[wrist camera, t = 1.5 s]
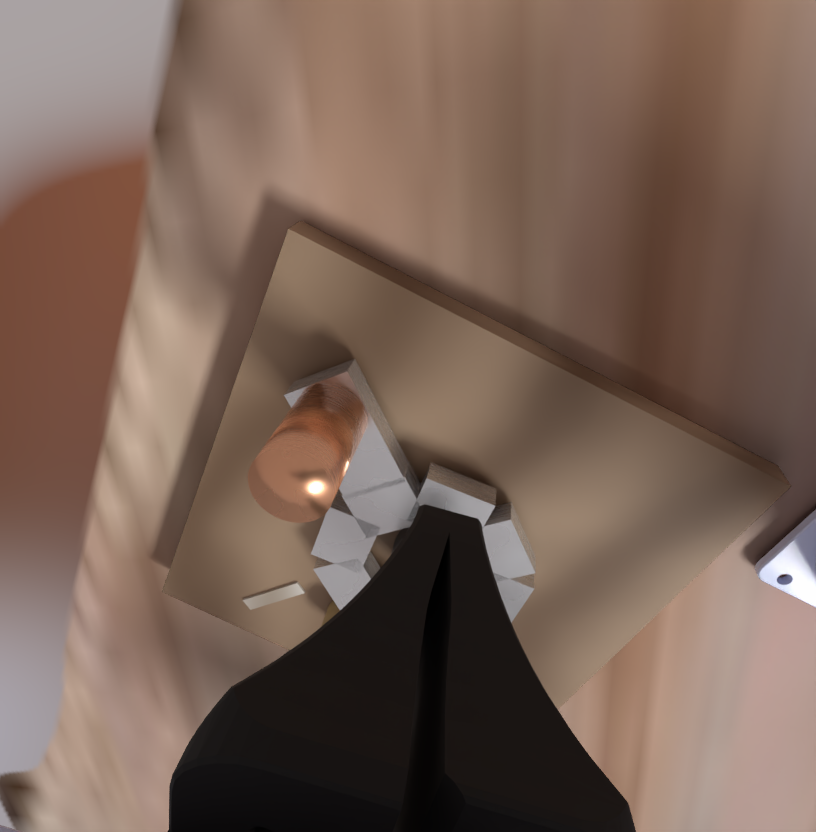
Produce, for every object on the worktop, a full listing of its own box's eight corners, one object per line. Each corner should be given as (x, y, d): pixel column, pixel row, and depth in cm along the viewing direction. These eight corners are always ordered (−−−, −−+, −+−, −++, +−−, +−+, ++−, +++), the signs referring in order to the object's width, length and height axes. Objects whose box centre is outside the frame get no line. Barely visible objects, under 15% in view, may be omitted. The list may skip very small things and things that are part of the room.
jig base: (778, 466, 21) (864, 599, 16) (513, 729, 30) (510, 871, 25) (301, 220, 20) (216, 274, 14) (175, 573, 29) (94, 687, 23)
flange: (559, 606, 24) (566, 727, 19) (378, 642, 26) (348, 755, 22) (432, 329, 19) (404, 405, 15) (228, 406, 22) (152, 490, 17)
